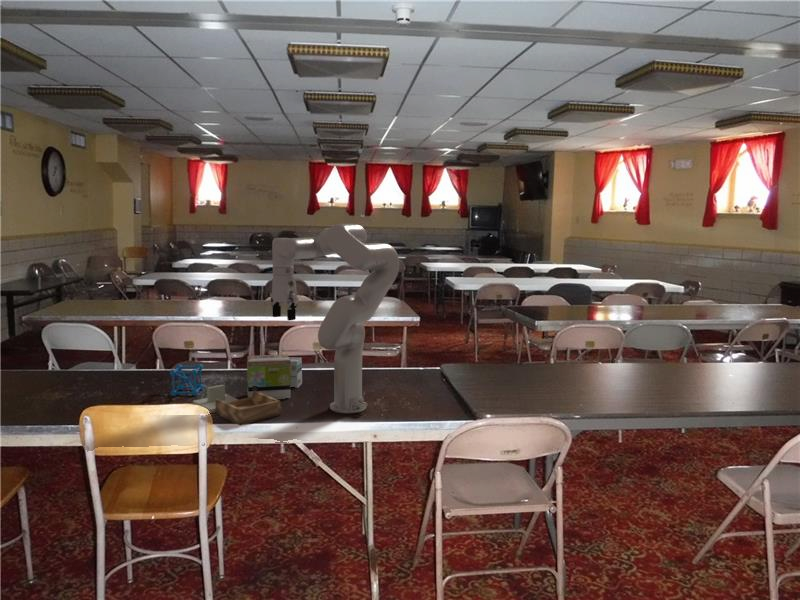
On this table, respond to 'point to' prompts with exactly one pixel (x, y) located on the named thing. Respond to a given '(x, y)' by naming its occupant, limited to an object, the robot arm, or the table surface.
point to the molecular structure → (186, 380)
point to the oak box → (249, 408)
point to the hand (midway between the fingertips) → (284, 318)
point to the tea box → (269, 375)
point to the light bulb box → (296, 372)
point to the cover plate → (213, 404)
